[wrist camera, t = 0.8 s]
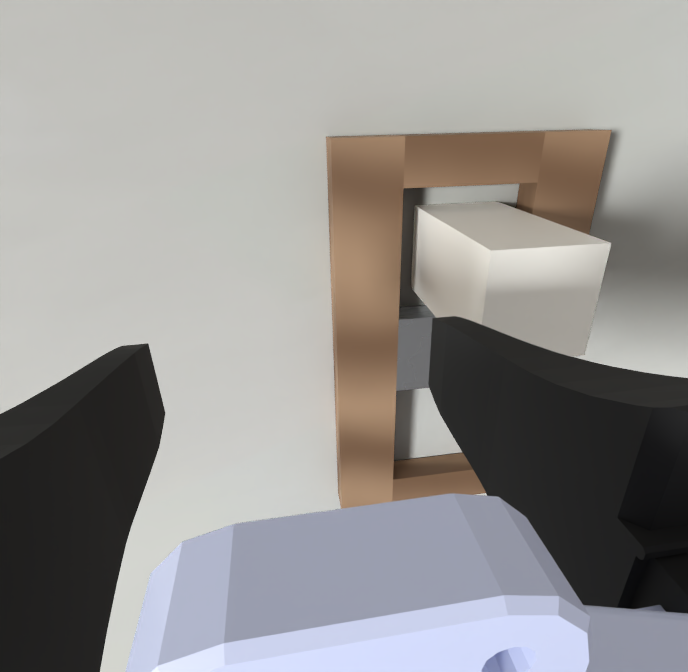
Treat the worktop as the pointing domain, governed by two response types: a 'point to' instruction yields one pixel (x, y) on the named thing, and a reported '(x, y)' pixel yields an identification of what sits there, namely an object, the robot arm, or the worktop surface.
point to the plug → (509, 272)
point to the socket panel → (384, 279)
